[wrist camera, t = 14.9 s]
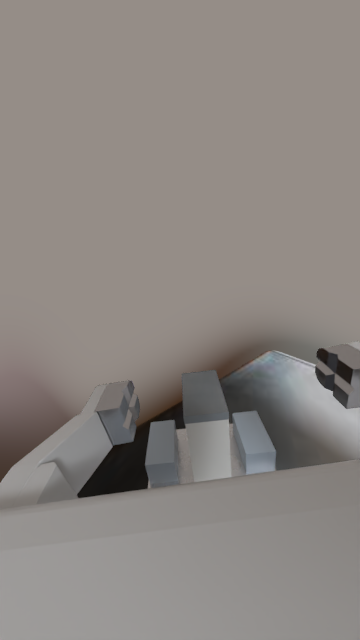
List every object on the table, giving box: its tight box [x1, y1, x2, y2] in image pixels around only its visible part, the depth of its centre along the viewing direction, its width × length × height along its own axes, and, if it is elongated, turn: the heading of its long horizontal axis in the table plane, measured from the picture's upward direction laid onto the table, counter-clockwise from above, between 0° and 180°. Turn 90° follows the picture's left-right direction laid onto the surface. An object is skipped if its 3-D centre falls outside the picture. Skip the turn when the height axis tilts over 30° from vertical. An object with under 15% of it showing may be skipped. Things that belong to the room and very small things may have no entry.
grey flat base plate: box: [148, 423, 277, 489], centre depth 27 cm, size 16×8×2 cm, turn 91°
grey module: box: [182, 370, 231, 482], centre depth 25 cm, size 5×7×11 cm, turn 1°
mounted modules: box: [145, 411, 276, 484], centre depth 26 cm, size 16×6×4 cm, turn 91°
